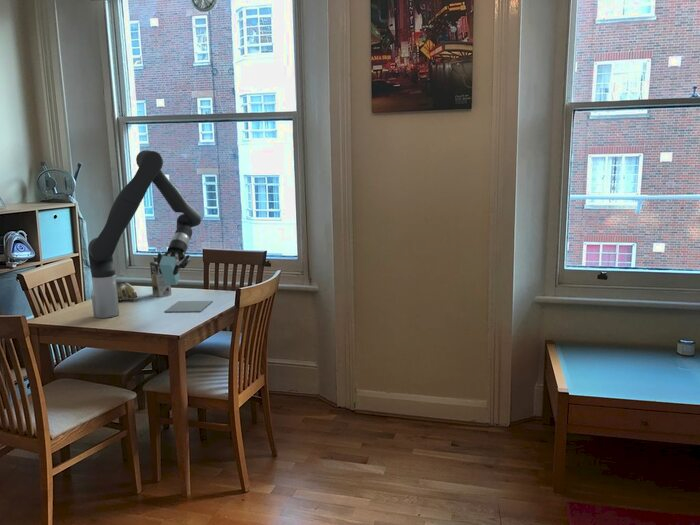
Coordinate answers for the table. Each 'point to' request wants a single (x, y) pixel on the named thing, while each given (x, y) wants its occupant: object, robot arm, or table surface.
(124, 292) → the ceramic sculpture
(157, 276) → the coffee box
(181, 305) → the rubber mat
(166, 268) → the card box
